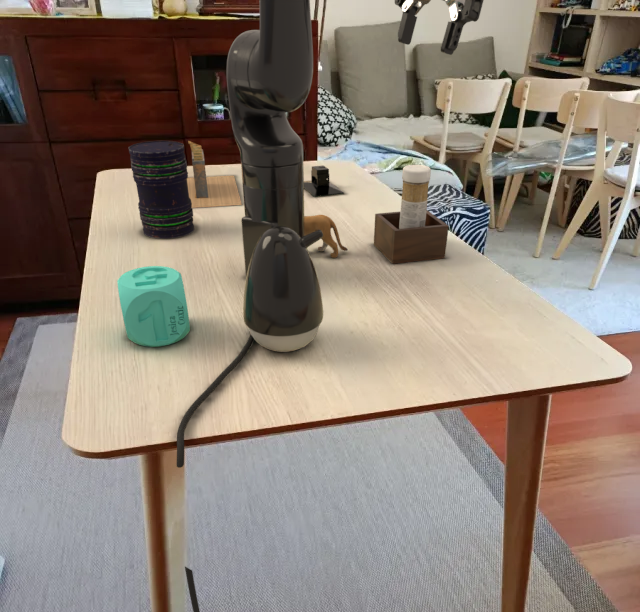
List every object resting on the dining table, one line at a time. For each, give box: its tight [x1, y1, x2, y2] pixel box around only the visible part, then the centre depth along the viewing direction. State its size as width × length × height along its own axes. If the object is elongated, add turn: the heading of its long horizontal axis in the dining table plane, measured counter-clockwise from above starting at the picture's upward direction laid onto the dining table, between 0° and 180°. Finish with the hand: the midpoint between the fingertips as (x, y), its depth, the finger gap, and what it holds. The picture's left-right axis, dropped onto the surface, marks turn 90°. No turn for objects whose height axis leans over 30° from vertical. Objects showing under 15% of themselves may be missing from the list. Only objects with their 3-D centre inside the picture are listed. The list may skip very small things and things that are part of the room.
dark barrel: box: [128, 140, 195, 240], centre depth 112 cm, size 10×10×15 cm
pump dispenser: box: [242, 226, 324, 353], centre depth 76 cm, size 10×10×15 cm
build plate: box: [304, 165, 345, 198], centre depth 139 cm, size 12×7×5 cm, turn 20°
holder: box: [373, 210, 450, 265], centre depth 106 cm, size 10×10×6 cm
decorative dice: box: [116, 265, 191, 348], centre depth 80 cm, size 8×8×8 cm
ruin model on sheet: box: [187, 140, 243, 209], centre depth 136 cm, size 25×16×10 cm, turn 11°
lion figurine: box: [304, 214, 349, 259], centre depth 104 cm, size 15×5×9 cm, turn 92°
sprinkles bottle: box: [399, 164, 432, 229], centre depth 103 cm, size 5×5×14 cm
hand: (424, 48), depth 90 cm, fingers open, 8 cm apart
